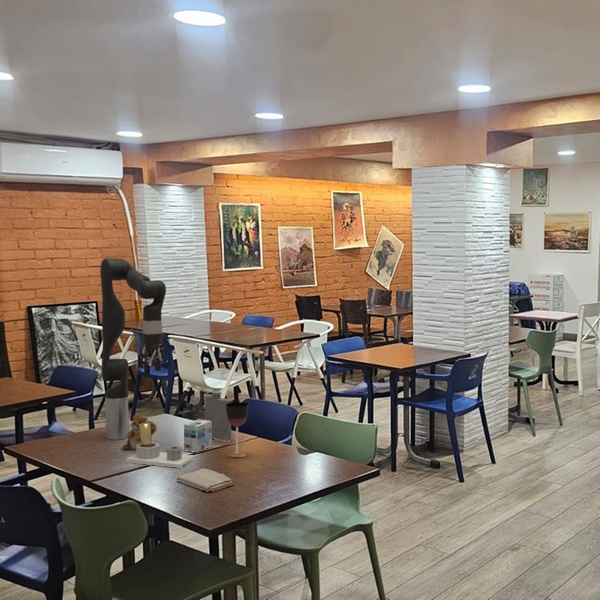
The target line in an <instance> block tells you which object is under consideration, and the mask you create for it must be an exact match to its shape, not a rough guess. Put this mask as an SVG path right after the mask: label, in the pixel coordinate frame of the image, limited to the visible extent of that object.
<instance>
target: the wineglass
mask: <svg viewBox="0 0 600 600" xmlns="http://www.w3.org/2000/svg"><path fill="white" fill-rule="evenodd" d="M248 412H249V403H248V402H243V401H233V402H232V401H231V403H227V404H226V414H227V419H228V422H229V423H230V424H231V426H233V427H235V453H239V427H240V426H242V425H244V424H245V423H246V422H247V419H248Z"/></svg>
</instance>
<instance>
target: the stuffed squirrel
mask: <svg viewBox="0 0 600 600" xmlns="http://www.w3.org/2000/svg"><path fill="white" fill-rule="evenodd" d="M146 422H149V423H150V427H151V437H152V436H153V435H154V433H155V432H156V431H158V430H157V424H155V422H154V421H151V420H149V418H148V417H144V416H141V415H132V421H131V423H129V428H132V429H131V430H129V433H128V434H127V440H126V443H125V444H123V445H122V446H121V447H120V448H121V450H123V451H125V450H136V445H137V444H139V443H141V437H140V427H139V424H141V423H146Z"/></svg>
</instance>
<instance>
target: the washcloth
mask: <svg viewBox="0 0 600 600" xmlns="http://www.w3.org/2000/svg"><path fill="white" fill-rule="evenodd" d="M176 480H181V481H184V482H187V483H190V484H193V485H195V486H198V487H200V488H203V489H206V490H209V489H214V488H217V487H220V486H223V485H226V484H229V483H233V484H234V482H233V481H232V478H230V477H228V476H226V475H225V474H224V473H219V472H217V471H215V470H210V469H207V468H201V469H197V470H195V471H192V472H190V473H185V474H182V475H181V474H180V475H179V476H177V477H176Z"/></svg>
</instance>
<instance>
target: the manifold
mask: <svg viewBox="0 0 600 600" xmlns="http://www.w3.org/2000/svg"><path fill="white" fill-rule="evenodd" d="M160 445H161V444H160V443H158V442H155V441H152V447H141V443H139V444H137V445H136V449H135V450H136V451H135V454H133V455H131V456H129V457H127V458H126V463H128V464H134V463H137V464H136V465H143V464H146V465H145V466H152V465H156V466H155V467H160V466H172V467H181V466H183V465H184V464H186V463H188V462H190V461H191V460H193V459H196V456H195V455H194V454H193V455H191V454H184V453H183V449H182V448H183V447H182V446H178V445H171V446H168V447H166V452H164V451H161V450H160V448H161V447H160ZM193 461H194V460H193ZM190 463H191V462H190ZM188 464H189V463H188Z"/></svg>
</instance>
